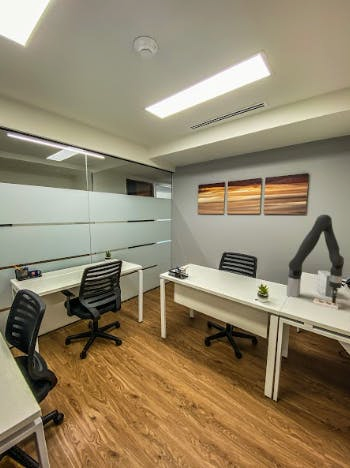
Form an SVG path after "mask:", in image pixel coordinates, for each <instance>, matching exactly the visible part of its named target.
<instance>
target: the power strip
mask: <svg viewBox="0 0 350 468" xmlns="http://www.w3.org/2000/svg"><path fill="white" fill-rule="evenodd" d="M316 299H317V298H314V299H313V301H310V300H309V301H308V302H309V303H312V304H313V305H316V306H320V307H324V308H329V309H334V310H337V311H338V309H339V304H338V303H337V302H336V306H334V305H331V302H332V301H328V304H325V303H323V300H324V299H323V300H322V299H320V300H321V303H320V302H316Z"/></svg>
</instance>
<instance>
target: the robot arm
mask: <svg viewBox="0 0 350 468" xmlns="http://www.w3.org/2000/svg"><path fill="white" fill-rule="evenodd" d="M332 220H333V219H332V217H331V216H330V215H329V214H320V215H319V216H318V217H316V220H315V222H314V224H313V226H312V228H311V229H310V231H309V232H308V233H307V234H306V235H305V238H304V239H303V240H302V242H301V244H300V245H299V247H298V250H297V252H296V254H295V255H294V256H293V258H292V259H291V260H290V261H289V262H288V267H289V272H288V279H287V280H288V282H287V284H286V296H287V297H288V298H291V297H292V298H300V296H301V282H302V275H303V274H302V273H303V263H304V262H305V260H306V259H307V257H308V256H310V254H311V253H312V252H313V250H314V248H315V247H316V246H317V244H318V242H319V240H320V237H321V235H322V233H323V235H324V240H325V244H326V249H327V251H328V256H329V257H328V258H329V260H330V262H331V268H330V271H329V272H330V279H329V286H330V287H333V288H332V290H331V291H332V297H331V302H332V303H337V297H338V293H339V289H341V288H342V284H343V282H342V281H343V278H342V277H343V267H344V261H345V258H344V257H343V256H342V255H341V253H340V246H339V243H338V240H337V238H336V234H335V232H334V229H333V221H332Z"/></svg>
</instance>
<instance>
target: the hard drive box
mask: <svg viewBox="0 0 350 468" xmlns="http://www.w3.org/2000/svg"><path fill="white" fill-rule="evenodd" d="M329 279H330V271H328V270H318V271H317V282H316V283H317V285H316V291H317V293H318V294H320V295H321V296H323V297H328V298H332V291H331V290H332V288H333V287H330V286H329Z"/></svg>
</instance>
